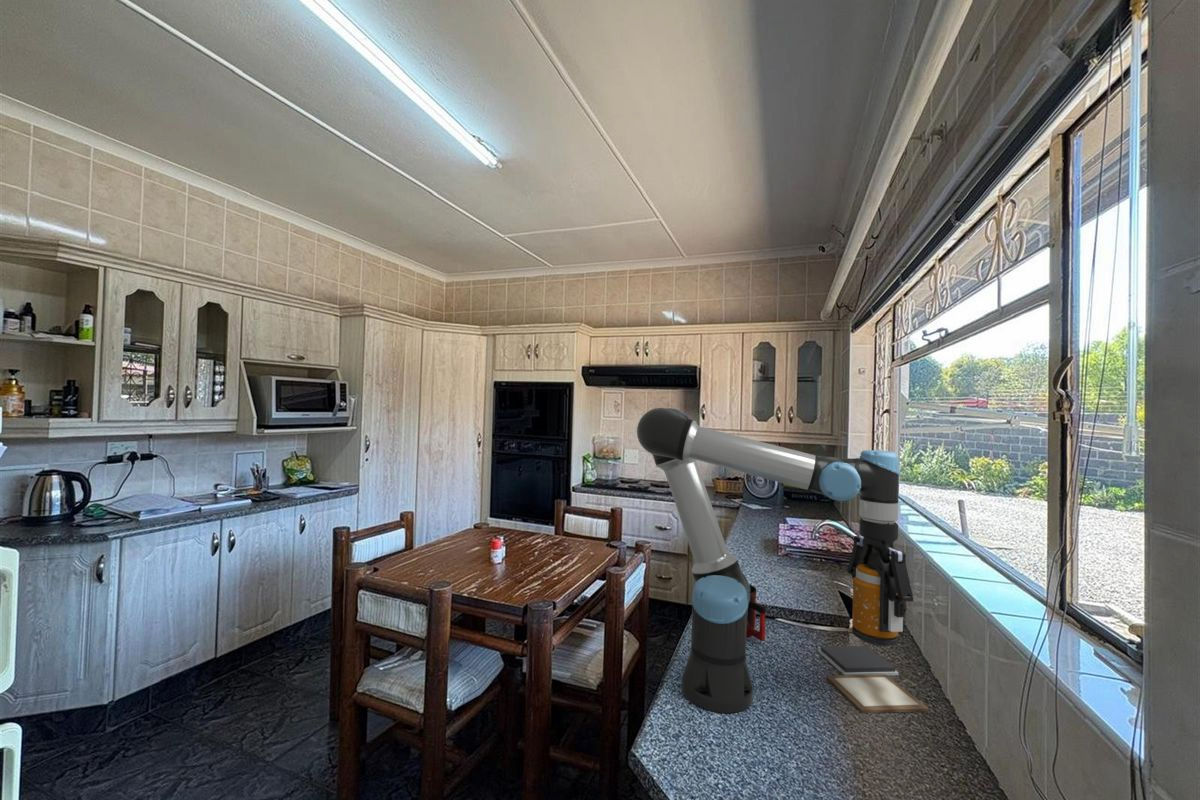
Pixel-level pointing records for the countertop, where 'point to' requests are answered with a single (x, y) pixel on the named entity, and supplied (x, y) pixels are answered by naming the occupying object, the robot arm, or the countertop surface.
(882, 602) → the canister
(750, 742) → the countertop surface
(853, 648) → the ink pad
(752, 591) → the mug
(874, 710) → the box board
